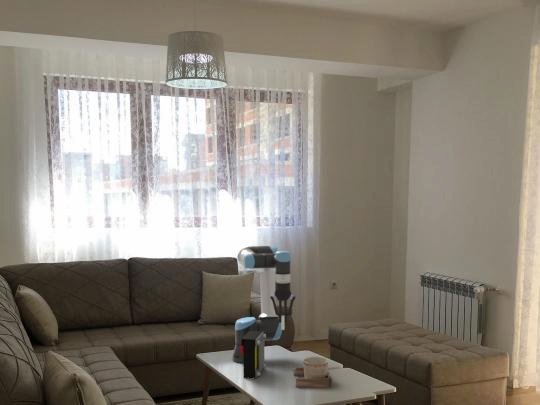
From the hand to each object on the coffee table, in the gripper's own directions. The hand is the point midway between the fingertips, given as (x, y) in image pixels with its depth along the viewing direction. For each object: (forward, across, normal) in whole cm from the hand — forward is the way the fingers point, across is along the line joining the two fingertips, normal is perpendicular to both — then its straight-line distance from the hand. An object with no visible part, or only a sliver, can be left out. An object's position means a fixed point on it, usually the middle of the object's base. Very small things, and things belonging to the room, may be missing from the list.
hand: (282, 329), depth 272 cm
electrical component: (+27, -15, +14) cm, 33 cm away
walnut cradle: (+26, +14, +1) cm, 30 cm away
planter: (+27, +16, +1) cm, 31 cm away
